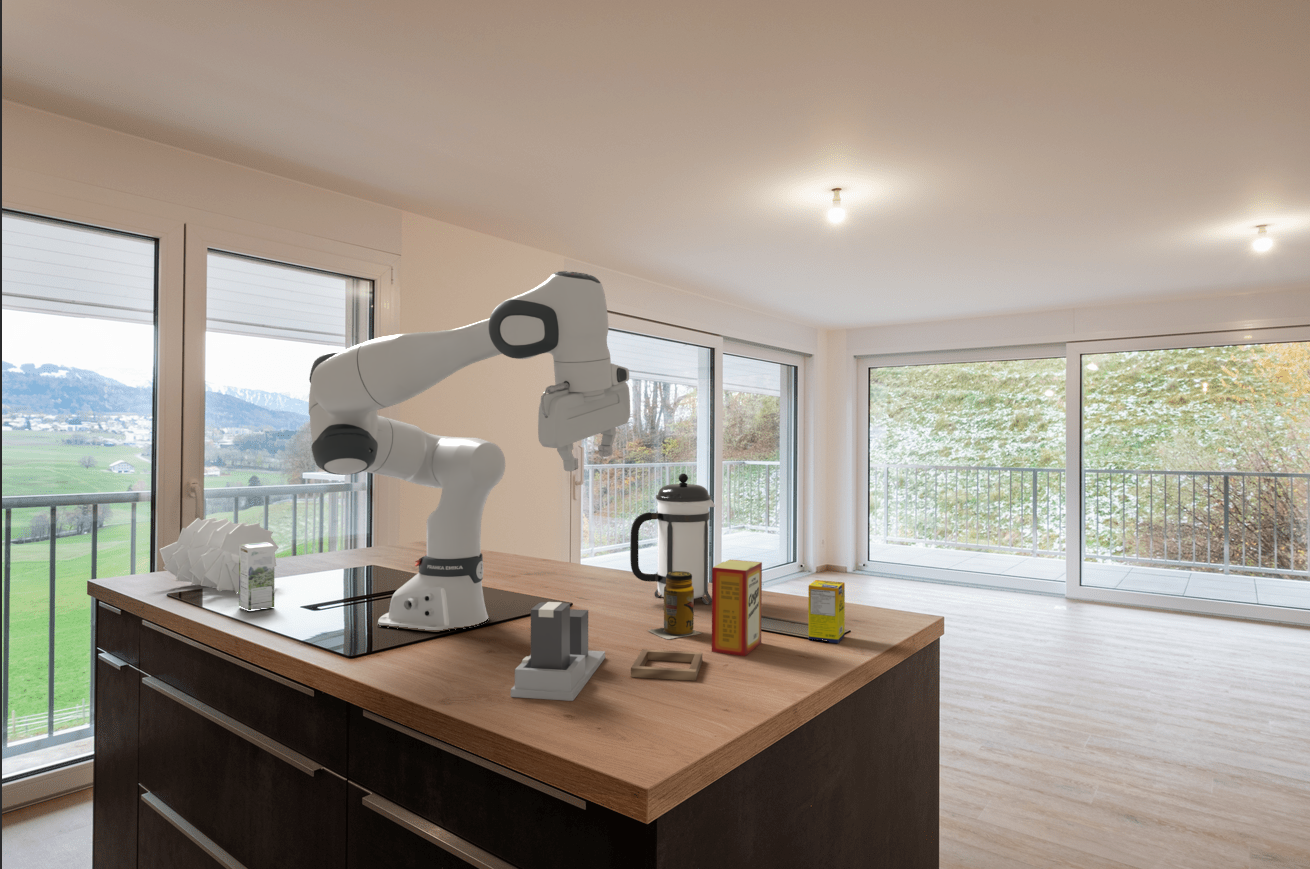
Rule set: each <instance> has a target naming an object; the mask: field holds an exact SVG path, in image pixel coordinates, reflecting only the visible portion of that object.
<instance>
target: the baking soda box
mask: <svg viewBox="0 0 1310 869" xmlns="http://www.w3.org/2000/svg"><path fill="white" fill-rule="evenodd" d="M711 571H712V572H711V574H712V575H711V577H712V578H711V584H712V585H711V598H712V602H711V653H712V652H713V653H718V654H719V653H720V654H725V655H732V656H733V655H734V656H740V657H747V656H748V655H749V654H751V652H752V651H754V650H755V649H756V648H757V647H758V646H760V645H761V644H762V608H763V607H762V600H763V599H762V597H763V595H762V589H763V587H762V585H763V584H762V582H763V581H762V580H763V578H762V577H763V575H762V574H763V562H762V561H752V560H751V561H750V560H739V559H728V560H726V561H722V562H720V563H718V564H716V565H715V566H713V567H711Z"/></svg>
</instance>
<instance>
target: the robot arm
mask: <svg viewBox="0 0 1310 869" xmlns="http://www.w3.org/2000/svg"><path fill="white" fill-rule="evenodd" d="M609 330H610V329H609V315H608V308H607V300H606V294H605V290H604V286H603V284H602V282H601V281H600V280H599V279H598V278H597V277H596V276H593V275H592V274H588V273H584V272H583V273H582V272H578V271H566V270H562V271H560V270H559V271H556V272H553V273H552V274H551V275H550V276H549V277H548V278H547V279H546V280H545V281H543V282H542V283H540V284H539V285H536V286H535V287H533V288H531V289H529V290H527V291H525V292H523V293H521V294H518V295H515V296H512V297H509V298H508V299H506V300H503V301H502V302H501V303H499V304H498V305H497V306H496V307H495V308H494V309H493V310H492V312H491V314H490V317H489V318H487V319H483V320H481V321H478V322H474V323H471V324H468V325H465V326H461V327H457V328H452V329H447V330H446V329H445V330H437V331H435V330H433V331H423V332H422V331H421V332H409V333H398V334H393V335H386V336H381V337H376V338H373V339H369V340H366V341H364V342H361V343H358V344H355V345H354V346H351V347H347V348H346V349H344V350H338V351H331V352H327V353H324V354H323V355H321V356H319V357H317V358H316V359H315V360H314V362H313V364H312V365H311V369H310V374H309V379H308V380H309V382H310V385H309V386H310V387H309V395H308V397H309V398H308V415H309V425H310V426H309V427H310V435H311V440H312V441H311V442H312V444H311V453H312V456H313V460H314V462H315V464H316V466H317V467H318V468H320V469H321V470H322V471H324V472H326V473H329V474H330V475H331V474H332V475H338V476H339V475H342V476H344V475H346V476H348V475H354V474H359V473H363V472H365V473H370V474H375V475H379V476H384V477H389V478H390V477H391V478H394V479H399V480H401V481H405V482H408V483H412V484H416V485H419V486H424V487H428V488H434V489H441V494H440V499H439V502H438V504H437V507H436V508H435V510H433V511H432V512H430V514H429V515H428V517H427V520H426V554H424V555H423V556H421V557H420V558H419V559H417V560H415V561H414V563H415V564H414V567H418V573H416V574H415V575H414V576H412V578H410V579H409V580H408V581H406V582H405V583H404V584H403V585H401V586H400V587H399V588H398V589H396V590H395V592H394V593H393V594H392V595H391V599H390V604H389V610H388V612H386V613H384V614H383V615H381V616H380V617H379V618H378V620H377V625H378V624H379V625H389V626H399V627H408V628H418V629H425V630H443V629H448V628H454V627H464V626H471V625H475V624H479V623H481V622H484V621H486V620H487V619H488V618H489V615H488V612H487V608H486V604H485V597H484V592H483V591H484V590H483V582H482V581H483V576H484V558H483V553H482V552H481V547H482V546H481V544H482V543H481V542H482V540H481V539H482V538H481V537H482V535H481V534H482V519H483V512H484V508H485V505H486V502H487V500H488V498H489V495H490V493H491V491H493V489H494V488H495V487H496V486H497V485H498V484H499V483H500V481H501V480H502V479H503V476H504V474H505V472H506V471H505V470H506V457H505V455H504V452H503V451H502V449H501V447H500V446H499V445H498V444H496V443H494V442H492V441H489V440H486V439H483V438H480V437H469V436H468V437H465V436H464V437H463V436H462V437H461V436H445V435H439V434H433V433H429V432H427V431H425V430H422V428H421V427H419V426H418V425H415V424H411V423H407V422H405V421H401V420H397V419H394V418H390V417H386V416H383V415H378V410H382V409H386V408H390V407H393V406H395V405H399V404H401V403H404V402H406V401H408V400H411V399H413V398H414V397H417V396H418V395H420V394H423V393H424V392H425V391H427V390H429V389H431V388H433V387H434V386H435V385H437V384H438V383H441V381H443V380H445V379H447V378H448V377H449V376H452V375H453V374H454V373H455V374H456V372H458V371H460V370H462V369H464V368H466V367H468V366H470V365H472V364H476V363H478V362H480V361H485V360H487V359H491V358H493V357H497V356H501V355H503V356H506V357H508V358H511V359H515V360H516V359H517V360H526V359H531V358H534V357H536V356H538V355H542V354H551V355H552V358H553V371H554V385H549V386H547V387H546V388H545V390H544V392H543V393H542V395H541V396H540V402H539V407H538V417H537V418H538V419H537V427H538V429H537V430H538V431H537V432H538V441H539V443H540V445H541V446H542V447H544V448H548V449H549V448H550V449H556V451H557V453H558V455H559V456H560V457H561V459H562V464H563V469H564V471H565V472H574V471H576V470H578V469H579V459H578V458H575V456H574V454H573V452H572V451H573V450H574V443H577V442H580V441H583V440H585V439H587V438H590V437H593V436H596V435H599V434H602V437H601V443H600V445H598V456H600V457H602V458H603V457H604V458H607V457H609V456H611V455H613V454H614V453H613V452H614V451H613V444H614V441H615V438H616V434H617V430H616V428H618V427H621V426H622V425H623V426H624V425H626V424H627V423H628V422H629V418H630V416H631V398H630V388H629V385H628V383H627V382H628V381H629V379H630V371H629V368H627V367H625V366H621V365H619V364H616V363H612V362H611V354H610V350H609V347H608V333H609ZM488 620H489V619H488Z"/></svg>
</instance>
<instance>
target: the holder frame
mask: <svg viewBox="0 0 1310 869" xmlns="http://www.w3.org/2000/svg"><path fill="white" fill-rule="evenodd" d="M648 661H662V662H664V661H665V662H679V663H680V662H682V663H691V664H690V666H689V668H679V667H677V668H676V667H661V666H660V667H659V666H658V667H657V666H645V665H646V663H647V662H648ZM702 663H703V652H701V651H684V650H682V651H680V650H664V649H663V650H662V649H647V648H646V649H645V648H643V649H642V650H641V651H640V652H639V654H638V655H637V657H636V658H635V661H634V662H633V664H632V665H631V667H630V678H640V679H641V678H643V679H644V678H645V679H659V680H660V679H661V680H663V679H664V680H678V681H696V680H697V678H698V674H699V671H700V669H701V666H702ZM696 682H697V681H696Z"/></svg>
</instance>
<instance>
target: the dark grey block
mask: <svg viewBox="0 0 1310 869" xmlns="http://www.w3.org/2000/svg"><path fill="white" fill-rule="evenodd" d="M570 609H571V603H570V602H569V603H568V602H561V601H547V602H545V601H544V602H541V601H540V602H539V603H537V604H536V605H535V606H533V607H532V608H531V609H530V655H531V668H538V669H556V670H567V669H568V668H569V666H570Z"/></svg>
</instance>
